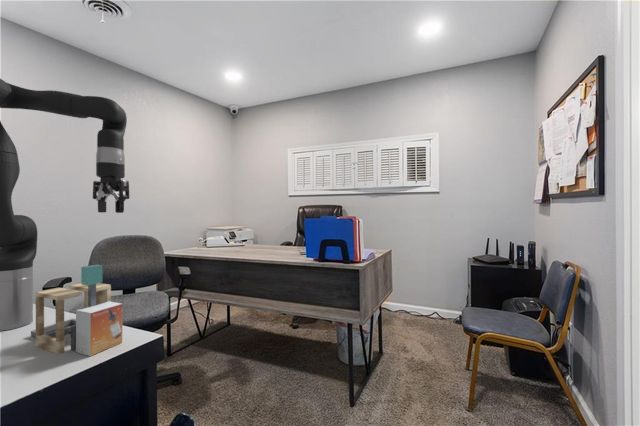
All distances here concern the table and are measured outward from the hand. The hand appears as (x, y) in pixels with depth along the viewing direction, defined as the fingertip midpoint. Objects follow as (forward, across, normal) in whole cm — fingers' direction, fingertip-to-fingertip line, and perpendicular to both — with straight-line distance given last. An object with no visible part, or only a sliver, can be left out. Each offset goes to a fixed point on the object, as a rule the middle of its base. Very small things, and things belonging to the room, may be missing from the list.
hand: (110, 212), depth 94 cm
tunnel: (+34, +9, -15) cm, 38 cm away
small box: (+34, +20, -15) cm, 42 cm away
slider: (+34, +16, -15) cm, 41 cm away
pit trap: (+34, -1, -13) cm, 37 cm away
